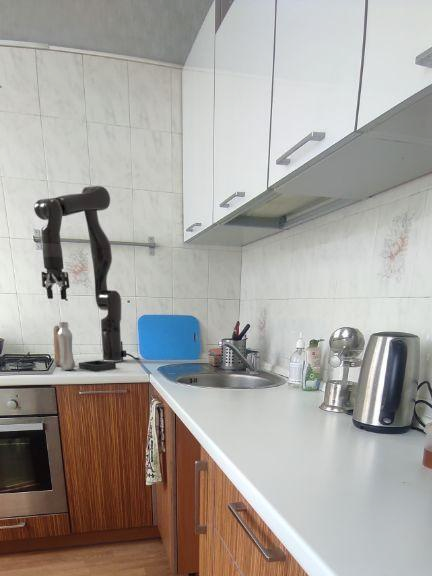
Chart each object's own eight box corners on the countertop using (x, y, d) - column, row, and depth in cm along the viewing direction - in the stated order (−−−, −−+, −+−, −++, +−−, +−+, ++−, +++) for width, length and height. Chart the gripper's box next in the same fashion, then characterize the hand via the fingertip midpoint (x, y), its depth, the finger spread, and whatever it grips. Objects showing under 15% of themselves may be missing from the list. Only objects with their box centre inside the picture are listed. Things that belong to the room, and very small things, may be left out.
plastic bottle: (61, 371, 202) (57, 323, 194) (58, 369, 207) (54, 321, 200) (76, 370, 205) (73, 323, 197) (73, 368, 210) (69, 321, 203)
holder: (98, 365, 220) (98, 360, 219) (116, 368, 214) (115, 362, 213) (79, 368, 211) (78, 362, 210) (96, 371, 205) (96, 365, 204)
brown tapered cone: (68, 366, 220) (54, 366, 217) (62, 326, 215) (48, 326, 212) (70, 365, 214) (57, 366, 212) (64, 324, 210) (50, 325, 207)
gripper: (72, 256, 187) (75, 299, 194) (49, 256, 195) (53, 298, 201) (56, 255, 182) (60, 299, 188) (33, 255, 189) (38, 298, 195)
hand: (57, 299), depth 194 cm, fingers open, 8 cm apart
